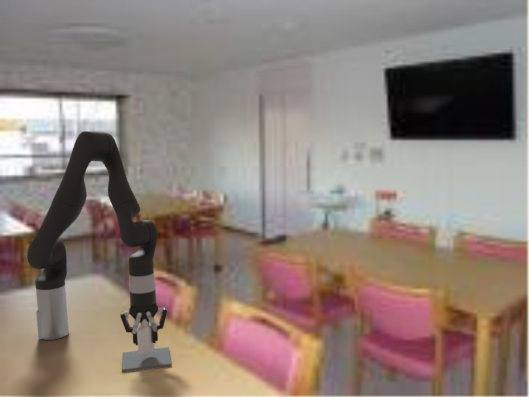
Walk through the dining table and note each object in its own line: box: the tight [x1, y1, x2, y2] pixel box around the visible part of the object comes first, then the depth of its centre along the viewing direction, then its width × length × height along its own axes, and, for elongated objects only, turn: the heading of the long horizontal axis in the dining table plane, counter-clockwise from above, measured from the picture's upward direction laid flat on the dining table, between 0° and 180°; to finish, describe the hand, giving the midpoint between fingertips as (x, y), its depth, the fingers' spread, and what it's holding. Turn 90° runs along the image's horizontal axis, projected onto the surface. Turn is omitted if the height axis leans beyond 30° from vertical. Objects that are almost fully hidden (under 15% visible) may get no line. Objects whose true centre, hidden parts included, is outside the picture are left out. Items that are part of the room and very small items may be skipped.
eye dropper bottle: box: [137, 319, 155, 356], centre depth 159 cm, size 4×6×12 cm
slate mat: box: [121, 347, 172, 373], centre depth 160 cm, size 14×12×1 cm
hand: (145, 343), depth 160 cm, fingers closed on eye dropper bottle, 4 cm apart
